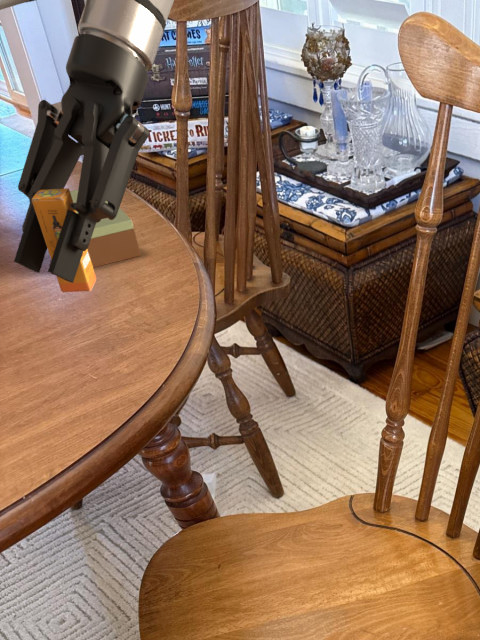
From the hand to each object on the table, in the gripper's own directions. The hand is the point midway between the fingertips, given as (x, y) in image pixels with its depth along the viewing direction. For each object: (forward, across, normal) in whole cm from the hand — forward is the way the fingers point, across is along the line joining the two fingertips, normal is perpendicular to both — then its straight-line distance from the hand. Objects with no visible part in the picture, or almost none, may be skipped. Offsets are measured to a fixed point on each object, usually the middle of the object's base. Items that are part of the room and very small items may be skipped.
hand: (43, 271), depth 81 cm
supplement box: (0, 0, -5) cm, 5 cm away
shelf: (-9, +23, -25) cm, 35 cm away
